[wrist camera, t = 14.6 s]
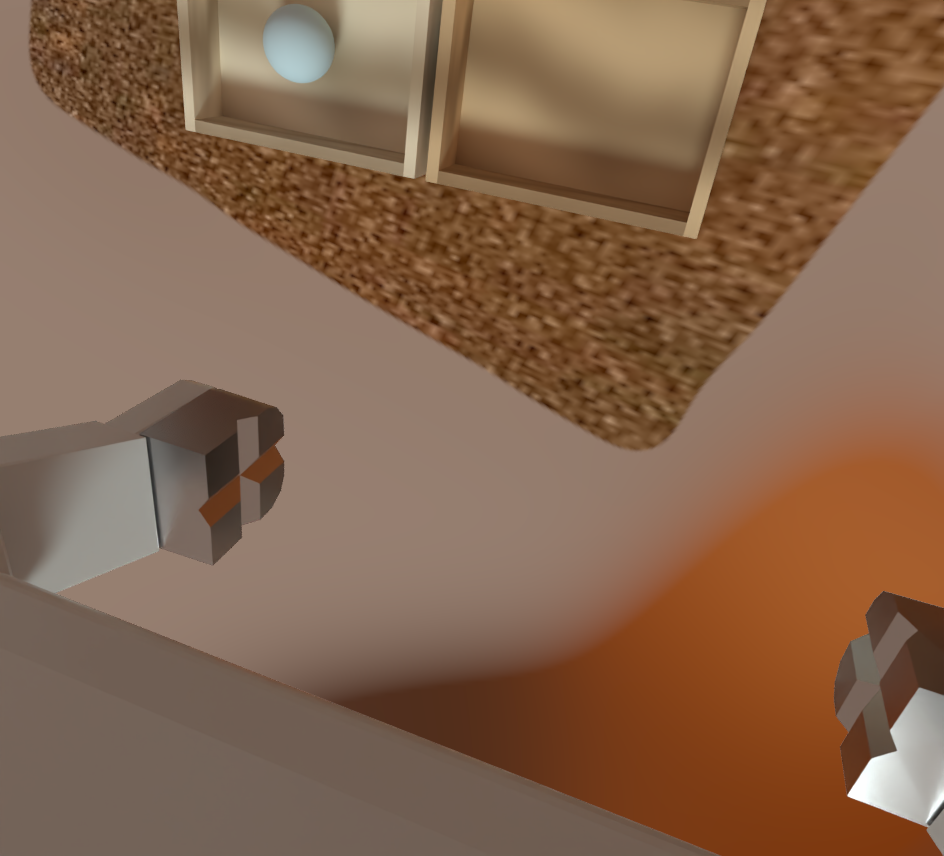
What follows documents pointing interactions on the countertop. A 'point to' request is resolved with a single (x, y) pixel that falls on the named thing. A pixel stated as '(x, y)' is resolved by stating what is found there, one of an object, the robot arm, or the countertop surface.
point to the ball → (298, 43)
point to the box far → (317, 81)
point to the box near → (590, 103)
